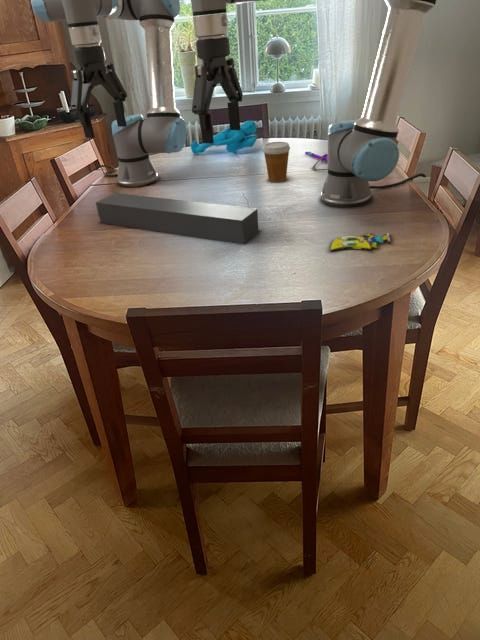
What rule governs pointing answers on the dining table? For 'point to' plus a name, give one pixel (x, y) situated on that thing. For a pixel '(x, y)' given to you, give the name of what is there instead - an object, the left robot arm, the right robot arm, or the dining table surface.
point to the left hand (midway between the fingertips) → (106, 131)
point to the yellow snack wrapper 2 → (358, 242)
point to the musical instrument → (324, 158)
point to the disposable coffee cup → (276, 160)
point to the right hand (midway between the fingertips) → (222, 136)
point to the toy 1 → (230, 139)
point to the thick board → (180, 217)
